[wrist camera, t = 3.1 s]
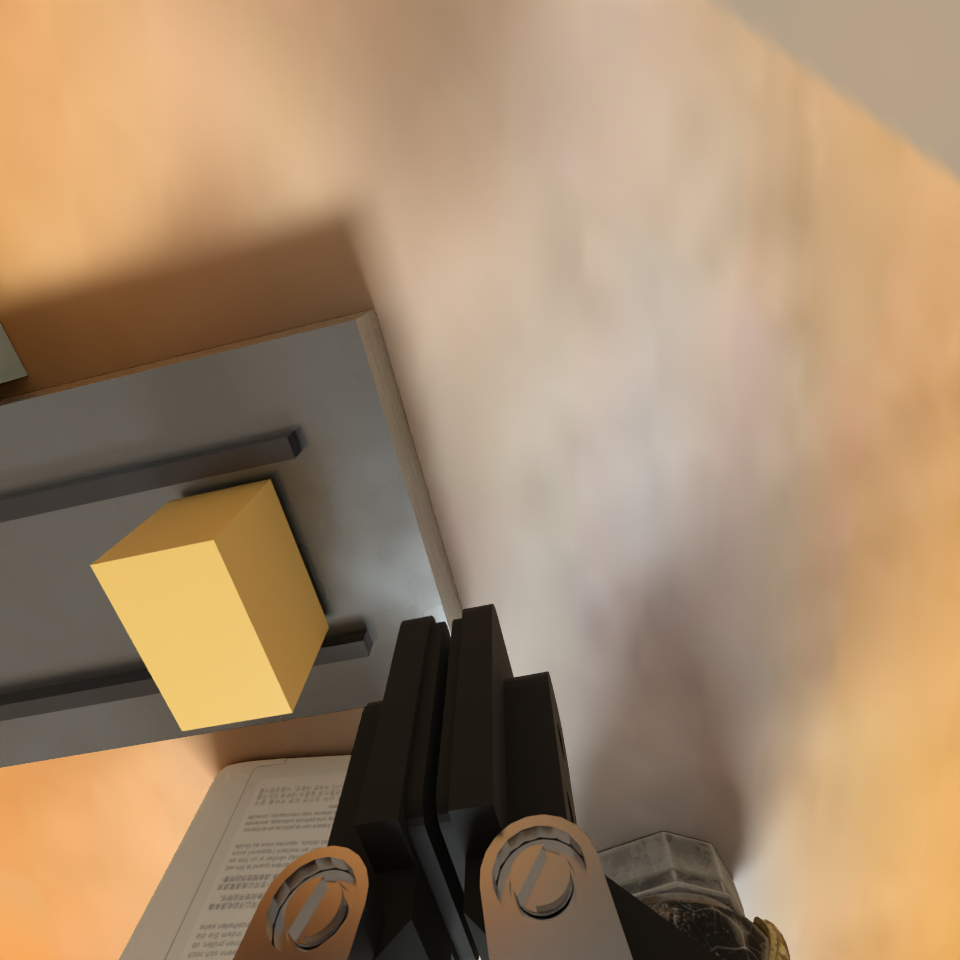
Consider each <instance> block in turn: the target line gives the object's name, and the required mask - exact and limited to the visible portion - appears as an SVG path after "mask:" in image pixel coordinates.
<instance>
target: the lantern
mask: <svg viewBox="0 0 960 960" xmlns="http://www.w3.org/2000/svg"><path fill="white" fill-rule="evenodd" d="M597 854H598V857H599V860H600V863H601V866H602V869H603V872H604V874H605V875H606V876H607V877H609V878H610V879H612V880H613V881H614V882H616V883H617V884H618V885H620V886H621V887H622V888H624V889H625V890H626V891H628V892H629V893H631V894H632V895H633V896H635V897H636V898H637V899H639V900H640V901H641V902H643V903H644V904H646V905H647V906H648V907H650V908H651V909H652V910H654V911H655V912H656V913H658V914H659V915H660V916H662V917H663V918H665V919H666V920H667V921H669V922H670V923H671V924H673V925H674V926H675V927H677V928H678V929H680V930H681V931H682V932H684V933H685V934H686V935H688V936H689V937H690V938H692V939H693V940H695V941H696V942H697V943H699V944H700V945H701V946H703V947H704V948H705V949H707V950H708V951H709V952H711V953H712V954H714V955H715V956H716V957H718V958H719V959H720V960H790V955H789V951H788V948H787V944H786V942H785V940H784V937H783V935H782V934H781V933H780V931H779V930H778V929H777V928H776V927H775V925H774V924H773V923H771V922H770V921H768V920H762V919H760V918H759V917H755V918H754V922H753V923H752V922H751V921H750V920H748V919H747V918H746V917H745V914H744V910H743V907H742V904H741V901H740V898H739V895H738V893H737V890H736V887H735V884H734V882H733V880H732V879H731V877H730V875H729V873H728V872H727V870H726V868H725V867H724V865H723V863H722V861H721V860H720V858H719V856H718V854H717V853H716V851H715V849H714V847H713V846H712V844H711V843H707V842H703V841H699V840H695V839H691V838H687V837H683V836H679V835H675V834H671V833H667V832H660V833H657V834H654V835H651V836H648V837H645V838H642V839H639V840H636V841H633V842H630V843H627V844H624V845H621V846H618V847H615V848H612V849H609V850H606V851H603V852H600V853H597Z"/></svg>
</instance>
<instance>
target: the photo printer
mask: <svg viewBox="0 0 960 960" xmlns="http://www.w3.org/2000/svg"><path fill="white" fill-rule="evenodd" d="M350 758H351V755H341V756H323V757H307V758H289V759H286V758H282V759H271V760H259V761H249V762H243V763H237V764H232V765H229V766H227V767H225V768H223V769H222V770H221V771H220V772H219V773H218V775H217V776H216V778H215V779H214V781H213V783H212V785H211V786H210V788H209V790H208V792H207V794H206V796H205V798H204V800H203V802H202V803H201V805H200V807H199V809H198V811H197V813H196V815H195V817H194V819H193V821H192V823H191V825H190V826H189V828H188V830H187V832H186V834H185V836H184V838H183V840H182V842H181V844H180V845H179V847H178V849H177V851H176V853H175V855H174V857H173V859H172V861H171V863H170V864H169V866H168V868H167V870H166V872H165V874H164V876H163V878H162V880H161V881H160V883H159V885H158V887H157V889H156V891H155V893H154V895H153V896H152V898H151V900H150V902H149V904H148V906H147V908H146V910H145V912H144V913H143V915H142V917H141V919H140V921H139V923H138V925H137V927H136V928H135V930H134V932H133V934H132V936H131V938H130V940H129V942H128V944H127V946H126V947H125V949H124V951H123V953H122V955H121V957H120V958H119V960H233V958H234V956H235V954H236V952H237V950H238V948H239V945H240V943H241V941H242V939H243V937H244V935H245V933H246V931H247V929H248V926H249V924H250V922H251V920H252V918H253V916H254V914H255V912H256V909H257V907H258V905H259V903H260V901H261V899H262V898H263V896H264V894H265V893H266V891H267V889H268V888H269V886H270V884H271V883H272V882H273V881H274V879H275V878H276V877H277V876H278V875H279V874H280V873H281V872H282V871H283V870H284V868H285V867H287V866H288V865H289V864H291V863H292V862H293V861H295V860H296V859H297V858H299V857H300V856H302V855H304V854H306V853H308V852H310V851H313V850H315V849H317V848H322V847H327V844H328V841H329V837H330V833H331V829H332V826H333V822H334V818H335V814H336V811H337V807H338V803H339V799H340V796H341V792H342V788H343V785H344V781H345V777H346V773H347V770H348V766H349V762H350Z"/></svg>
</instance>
